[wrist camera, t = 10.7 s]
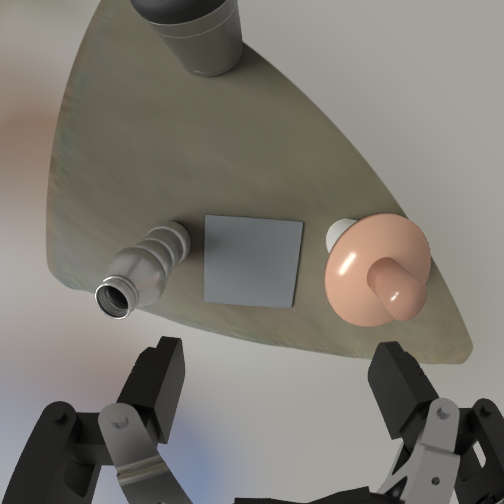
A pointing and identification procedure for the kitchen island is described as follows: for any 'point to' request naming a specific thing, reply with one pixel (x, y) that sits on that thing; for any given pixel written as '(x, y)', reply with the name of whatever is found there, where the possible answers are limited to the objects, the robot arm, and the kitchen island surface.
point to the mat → (250, 260)
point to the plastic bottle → (142, 270)
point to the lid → (378, 270)
